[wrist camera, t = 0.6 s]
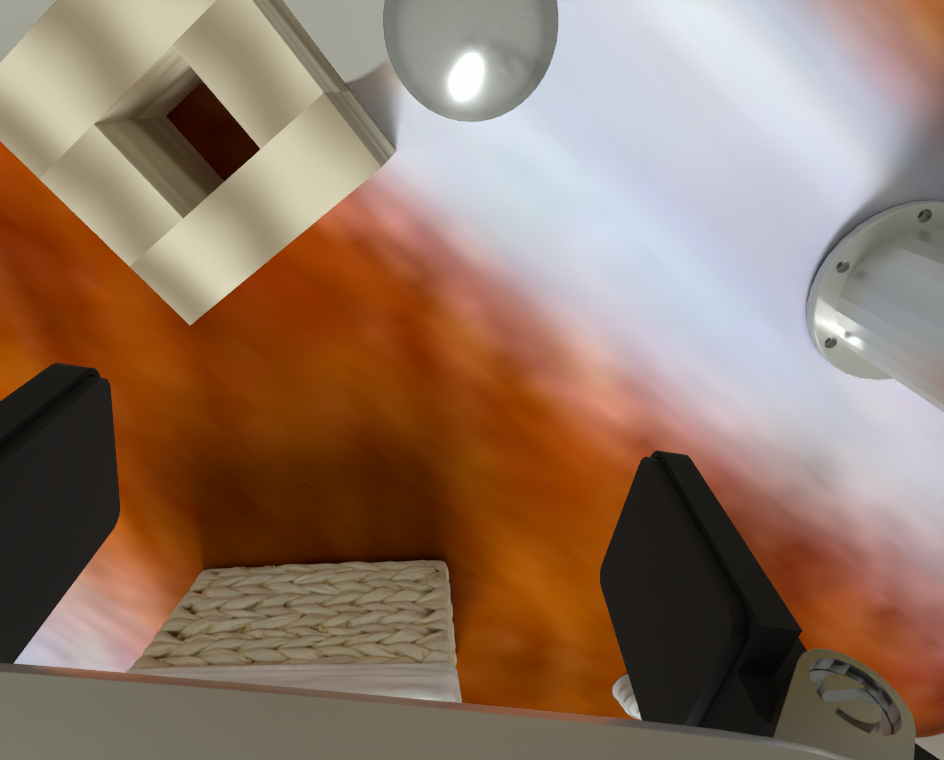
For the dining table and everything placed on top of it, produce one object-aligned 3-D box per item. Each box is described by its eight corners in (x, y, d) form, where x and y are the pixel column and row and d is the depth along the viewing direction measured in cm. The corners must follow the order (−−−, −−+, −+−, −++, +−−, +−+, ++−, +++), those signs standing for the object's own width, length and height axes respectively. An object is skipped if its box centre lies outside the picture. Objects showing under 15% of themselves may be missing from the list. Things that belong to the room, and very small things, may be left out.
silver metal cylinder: (479, -59, 33) (490, -129, 22) (550, 58, 35) (591, 47, 24) (381, 30, 34) (346, 5, 24) (455, 135, 37) (454, 156, 26)
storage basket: (222, 681, 58) (153, 856, 45) (179, 552, 51) (81, 716, 38) (468, 669, 58) (471, 841, 45) (459, 539, 51) (459, 698, 38)
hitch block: (228, -72, 32) (161, -117, 25) (396, 151, 37) (381, 167, 30) (62, 100, 36) (-37, 104, 28) (237, 283, 41) (190, 325, 34)
